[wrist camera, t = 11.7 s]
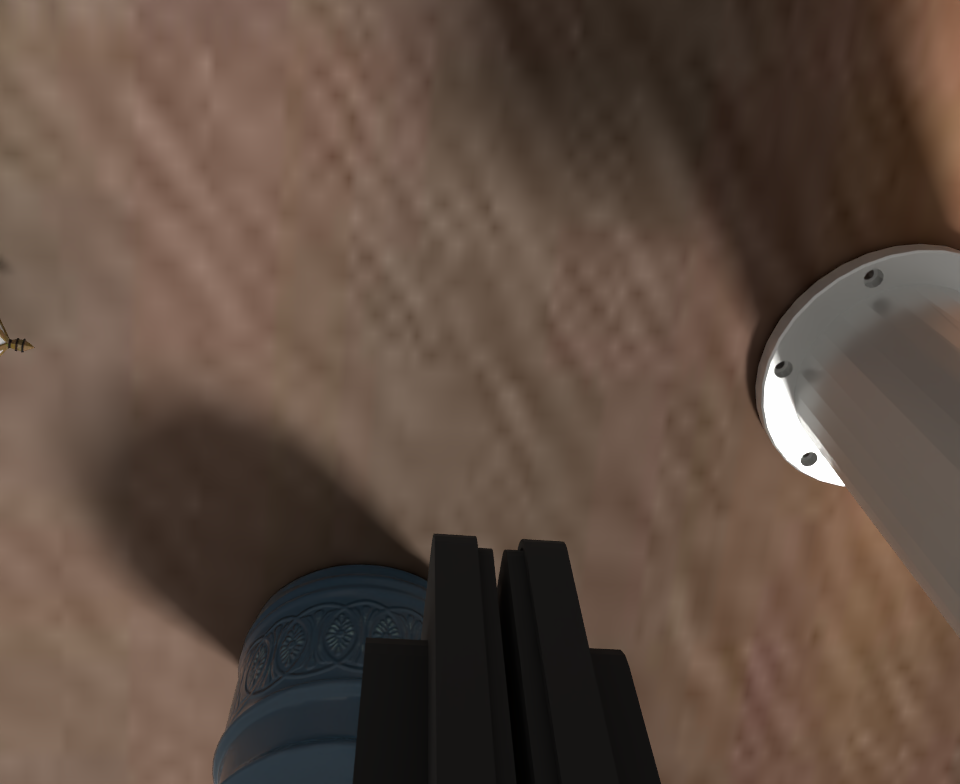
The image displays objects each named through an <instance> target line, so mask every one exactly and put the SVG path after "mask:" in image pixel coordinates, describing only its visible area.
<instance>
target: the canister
mask: <svg viewBox="0 0 960 784" xmlns="http://www.w3.org/2000/svg"><path fill="white" fill-rule="evenodd" d="M426 590H427V580H425V579H423V578H421V577H419V576H416V575H414V574H411V573H408V572H405V571H402V570H398V569H395V568H390V567H384V566H377V565H344V566H336V567H331V568H326V569H322V570H319V571H315V572H312V573H310V574H307V575H305V576H303V577H300V578H298V579H296V580H294V581H293V582H291V583H289V584H288V585H286V586H285V587H283V588H282V589H281V590H279V591H278V592H277V593H276V594H275V595H274V596H272V597H271V599H270V600H269V601H268V602H267V603H266V604H265V606H264V607H263V608H262V610H261V611H260V613H259V615H258V617H257V619H256V621H255V622H254V623H253V625H252V627H251V628H250V630H249V632H248V634H247V636H246V639H245V642H244V645H243V649H242V653H241V656H240V660H239V666H238V682H237V686H236V690H235V694H234V698H233V701H232V705H231V709H230V713H229V717H228V721H227V725H226V729H225V732H224V733H223V735H222V737H221V739H220V741H219V743H218V745H217V748H216V750H215V754H214V758H213V766H212V775H213V782H214V784H352V783H353V772H354V761H355V750H356V739H357V728H358V717H359V707H360V696H361V685H362V674H363V663H364V652H365V642H366V637H369V638H389V639H410V640H421V633H422V625H423V616H424V607H425V599H426Z"/></svg>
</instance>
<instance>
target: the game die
mask: <svg viewBox="0 0 960 784" xmlns="http://www.w3.org/2000/svg"><path fill="white" fill-rule="evenodd" d="M8 348H12V349H15V351H17V350H19V351H21V352H24V351H26V350H29V349H32V348H35V347H33V346H32V345H31V344H30V343H28V342H27V341H26V340H25V339H24V340H20V339H19V338H17V339H15V340H11V339H9V337H8V334H7V332H6V330H5V328H4V326H3V324H2V322H1V320H0V356H1V355H2V354H3V353H4V352H5V351H6V350H7V349H8Z"/></svg>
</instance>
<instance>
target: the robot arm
mask: <svg viewBox="0 0 960 784" xmlns="http://www.w3.org/2000/svg"><path fill="white" fill-rule="evenodd" d="M867 273H868V274H867ZM866 274H867V275H866ZM778 363H779V364H778ZM755 390H756V404H757V411H758V414H759V417H760V420H761V423H762V427H763V429H764V430H765V432H766V434H767V435H768V437H769V439H770V440H771V442H772V444H773V445H774V446H775V448H776V449H777V450H778V451H779V453H780V454H781V455H782V457H783V458H784V459H785V460H786V461H787V462H788V463H790V464H791V465H792V466H793V467H794V468H796V469H797V470H798V471H800V472H802V473H804V474H806V475H808V476H810V477H812V478H814V479H816V480H818V481H822V482H826V483H830V484H834V485H838V486H846V488H847V489H848V490H849V492H850V493H851V494H852V496H853V497H854V498H855V500H856V501H857V502H858V504H859V505H860V506H861V508H862V509H863V510H864V512H865V513H866V514H867V516H868V517H869V518H870V520H871V521H872V522H873V524H874V525H875V526H876V528H877V529H878V530H879V532H880V533H881V534H882V536H883V537H884V538H885V539H886V541H887V542H888V543H889V545H890V546H891V547H892V549H893V550H894V551H895V553H896V554H897V555H898V557H899V558H900V559H901V561H902V562H903V563H904V565H905V566H906V567H907V569H908V570H909V571H910V573H911V574H912V575H913V577H914V578H915V579H916V581H917V582H918V583H919V585H920V586H921V587H922V589H923V590H924V591H925V593H926V594H927V595H928V597H929V598H930V599H931V601H932V602H933V603H934V605H935V606H936V607H937V609H938V610H939V611H940V613H941V614H942V615H943V617H944V618H945V619H946V621H947V622H948V623H949V625H950V626H951V627H952V629H953V630H954V631H955V632H956V634H957V635H958V636H959V638H960V250H957V249H953V248H950V247H947V246H939V245H929V244H913V245H902V246H893V247H890V248H886V249H882V250H878V251H875V252H871V253H867V254H865V255H863V256H861V257H859V258H856V259H854V260H852V261H850V262H847V263H845V264H843V265H841V266H839V267H838V268H836V269H835V270H833V271H832V272H830V273H829V274H827V275H826V276H824V277H822V278H821V279H819V280H818V281H817V282H816V283H814V284H813V285H812V286H811V287H810V288H809V289H808V290H807V291H805V292H804V293H803V294H802V295H801V296H800V297H799V298H798V299H797V300H796V301H795V302H794V303H793V304H792V306H791V307H790V308H789V309H788V310H787V312H786V313H785V314H784V315H783V317H782V318H781V319H780V320H779V322H778V324H777V325H776V327H775V329H774V331H773V332H772V334H771V336H770V338H769V339H768V341H767V343H766V346H765V349H764V351H763V354H762V357H761V360H760V363H759V366H758V373H757V379H756V386H755ZM352 784H661V782H660V778H659V775H658V771H657V767H656V764H655V760H654V756H653V753H652V749H651V745H650V742H649V738H648V734H647V731H646V727H645V723H644V720H643V716H642V712H641V709H640V705H639V701H638V697H637V694H636V690H635V686H634V683H633V679H632V675H631V672H630V668H629V665H628V662H627V659H626V657H625V655H624V653H623V652H622V651H621V650H614V649H593V648H589V645H588V641H587V636H586V632H585V627H584V623H583V618H582V614H581V609H580V605H579V600H578V596H577V591H576V587H575V582H574V578H573V573H572V569H571V564H570V560H569V555H568V551H567V547H566V544H565V543H564V542H560V541H544V540H528V539H522V540H521V541H520V543H519V547H518V550H504V552H503V556H502V561H501V567H500V573H499V579H498V585H497V586H496V576H495V566H494V557H493V550H492V549H487V548H478V544H477V538H476V536H463V535H447V534H434V535H433V539H432V547H431V555H430V564H429V573H428V581H427V590H426V599H425V607H424V616H423V625H422V633H421V640H410V639H389V638H369V637H366V642H365V652H364V663H363V674H362V685H361V696H360V707H359V717H358V728H357V739H356V750H355V761H354V772H353V783H352Z"/></svg>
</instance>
